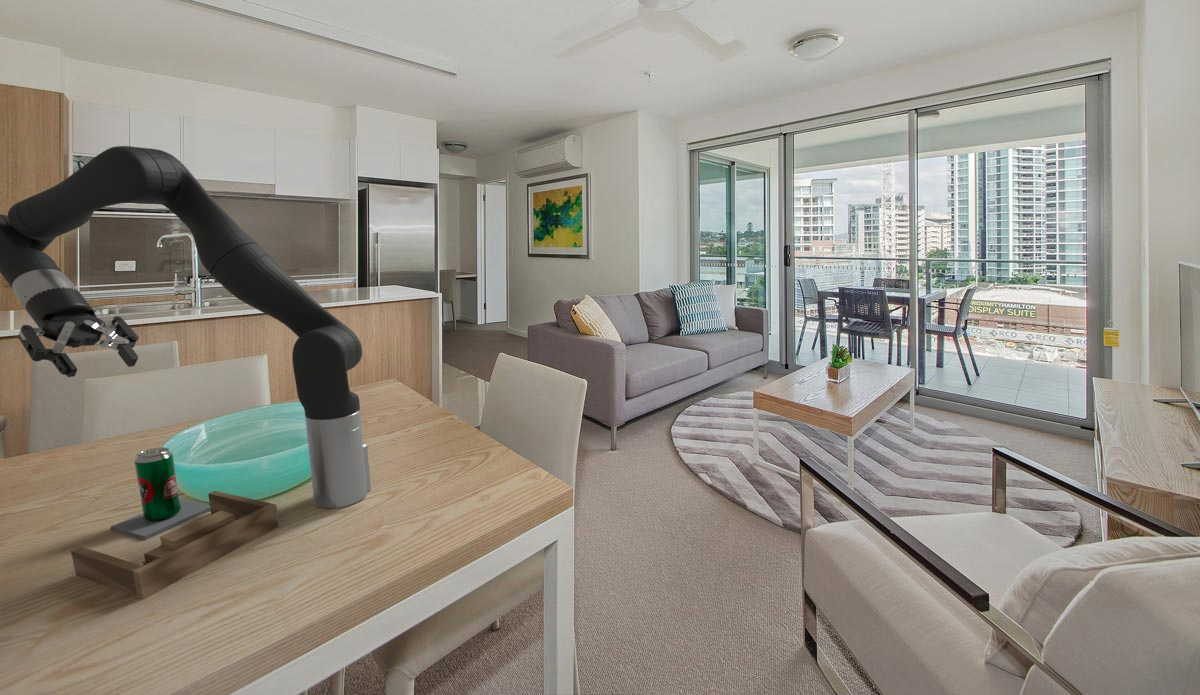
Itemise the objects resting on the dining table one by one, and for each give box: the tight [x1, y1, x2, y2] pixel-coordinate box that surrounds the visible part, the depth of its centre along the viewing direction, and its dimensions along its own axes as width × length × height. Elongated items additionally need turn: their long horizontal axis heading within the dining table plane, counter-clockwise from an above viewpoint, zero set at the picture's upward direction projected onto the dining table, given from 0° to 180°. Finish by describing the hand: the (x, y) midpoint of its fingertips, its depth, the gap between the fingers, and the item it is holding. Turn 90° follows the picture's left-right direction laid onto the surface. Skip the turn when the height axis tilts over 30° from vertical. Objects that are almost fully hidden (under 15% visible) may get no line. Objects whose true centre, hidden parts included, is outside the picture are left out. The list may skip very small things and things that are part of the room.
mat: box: [110, 497, 211, 540], centre depth 92 cm, size 11×9×1 cm
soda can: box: [134, 447, 181, 521], centre depth 91 cm, size 5×5×12 cm
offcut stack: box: [142, 510, 236, 566], centre depth 81 cm, size 12×5×4 cm, turn 160°
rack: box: [70, 490, 280, 600], centre depth 82 cm, size 20×15×4 cm
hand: (104, 368), depth 90 cm, fingers open, 8 cm apart
